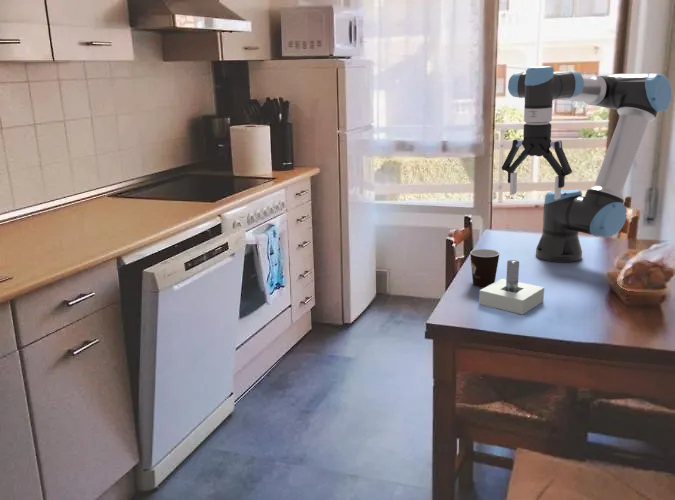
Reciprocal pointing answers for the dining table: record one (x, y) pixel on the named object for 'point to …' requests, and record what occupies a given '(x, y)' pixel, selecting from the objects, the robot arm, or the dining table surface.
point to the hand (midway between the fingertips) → (534, 196)
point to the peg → (512, 276)
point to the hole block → (511, 297)
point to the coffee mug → (484, 266)
